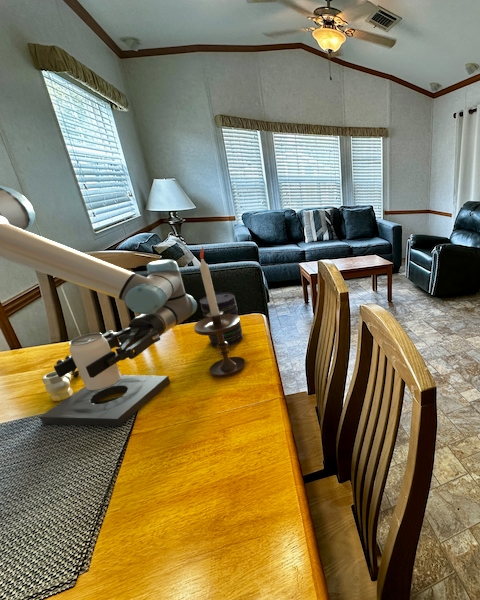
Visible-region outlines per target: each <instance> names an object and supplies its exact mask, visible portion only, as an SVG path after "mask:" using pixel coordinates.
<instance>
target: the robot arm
mask: <svg viewBox="0 0 480 600" xmlns="http://www.w3.org/2000/svg"><path fill="white" fill-rule="evenodd" d="M35 220H36V212H35V211H34V208H33V205H32V203H31V202H30V201H29V200H28V199H27V198H26V197H25V196H24V195H23V194H21V193H20V192H18V191H17V190H15V189H13V188H10V187H8V186H4V185H0V259H2V260H6V261H8V262H11V263H14V264H17V265H19V266H23V267H25V268H29V269H31V270H34V271H37V272H40V273H43V274H46V275H48V276H51V277H55V278H58V279H60V280H63V281H66V282H68V283H72V284H75V285H78V286H81V287H83V288H86V289H89V290H92V291H95V292H98V293H101V294H104V295H106V296H110V297H112V298H115V299H118V300H121V301H123V302H124V303H125V305H126V307H127V308H128V309H130V310H131V311H132V312H133V313H136V314H139V315H138V316H136V317H134V318H132V319H131V320H130V321H129V324H128V326H127V327H126V328H123V329H121V330H120V331H118V332H114V330H113V329H111V330H107V331H106V332H105V333H102V336H103V337H104V338H106V339H107V341H108V344H109V346H110V349H111V352H109V353H108V354H106V355H104V356H103V357H101V358H100V359H98V360H96V361H95V362H93V363H91V364H90V365H88V366H86V369H87V372H88V374H89V376H90V378H94V377H95V376H97V375H98V374H100V373H101V372H103V371H104V370H106V369H107V368H109V367H110V366H112V365H114V364H115V363H116V364H117V363H118V362H120V361H124V360H126V359H129V360H134V359H135V358H136V357H138V356H139V355H140V354H142V353H143V352H145V351H146V350H147V349H148V348H149V347H151V346H152V345H153V344H155V343H158V342H160V341H161V336H163V335H164V334H166V333H168V331H170V330H171V329H173V328H174V327H177V325H179V324H181V323H182V322H184V321H185V320H187V319H189V318H190V317H191V316H192V315H193V314H195V313H196V311H197V309H198V303H197V301H196V300H195V299H194V297H193V296H192V295H190V294H188V293H186V290H185V286H184V282H183V278H182V274H181V270H180V267H179V265H178V262H177V261H176V260H174V259H158V260H155V261H151V262H149V263H147V265H146V270H147V276H144V275H141V274H138V273H135V272H133V271H130V270H128V269H125V268H123V267H120V266H117V265H116V264H112V263H110V262H107V261H104V260H102V259H100V258H97V257H95V256H91V255H89V254H86V253H84V252H81V251H79V250H76V249H73V248H71V247H68V246H66V245H64V244H61V243H58V242H56V241H53V240H51V239H48V238H45V237H43V236H40V235H39V234H38V235H37V234H35V233H33V232H29V231H27V229H28V228H29V227H31V226H32V225H33V224H34V222H35ZM112 349H114V350H112ZM53 369H54V371H56V373H57V375H58V377H63V376H64V375H66V374H68V373H69V372H71V371H73V370H74V369H76V370H77V367H76V365H75V362H74V360H73V358H72V357H70V358H68V359H64V360H63V361H62V362H61V363H59V364H55V365H54V366H53Z"/></svg>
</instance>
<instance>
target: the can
mask: <svg viewBox="0 0 480 600" xmlns="http://www.w3.org/2000/svg"><path fill="white" fill-rule="evenodd" d="M102 335H103V333H101V332H92V333H86V334H82V335H80V336H76V337H74V338H73V339H71V340H70V341H69V342H68V344H69V353H70V356H72V358H73V360H74V362H75V365H76V367H77V368H76V370H78V371H79V376H80V378H81V380H82V382H83V385H84V387H85V386H86V388H87V389H89V390H93V391H95V390H102V389H105V388H108V387H110V386H112V385H114V384H116V383H117V382H118V381H119V380H120V378H121V375H122V373H121V371H120V369H119V367H118V364H117V363H115V364H114V365H112V366H110V367H109V368H107V369H106V370H104V371H103V372H101V373H100V374H98V375H97V376H95V377H94V378H90V376H89V374H88V372H87V369H86V366H88V365H90V364H91V363H93V362H95V361H96V360H98V359H100V358H101V357H103V356H104V355H106V354H108V353H109V352H111V351H112V349H110V346H109V344H108V341H107V339H106V338H104V337H103V336H102Z"/></svg>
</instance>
